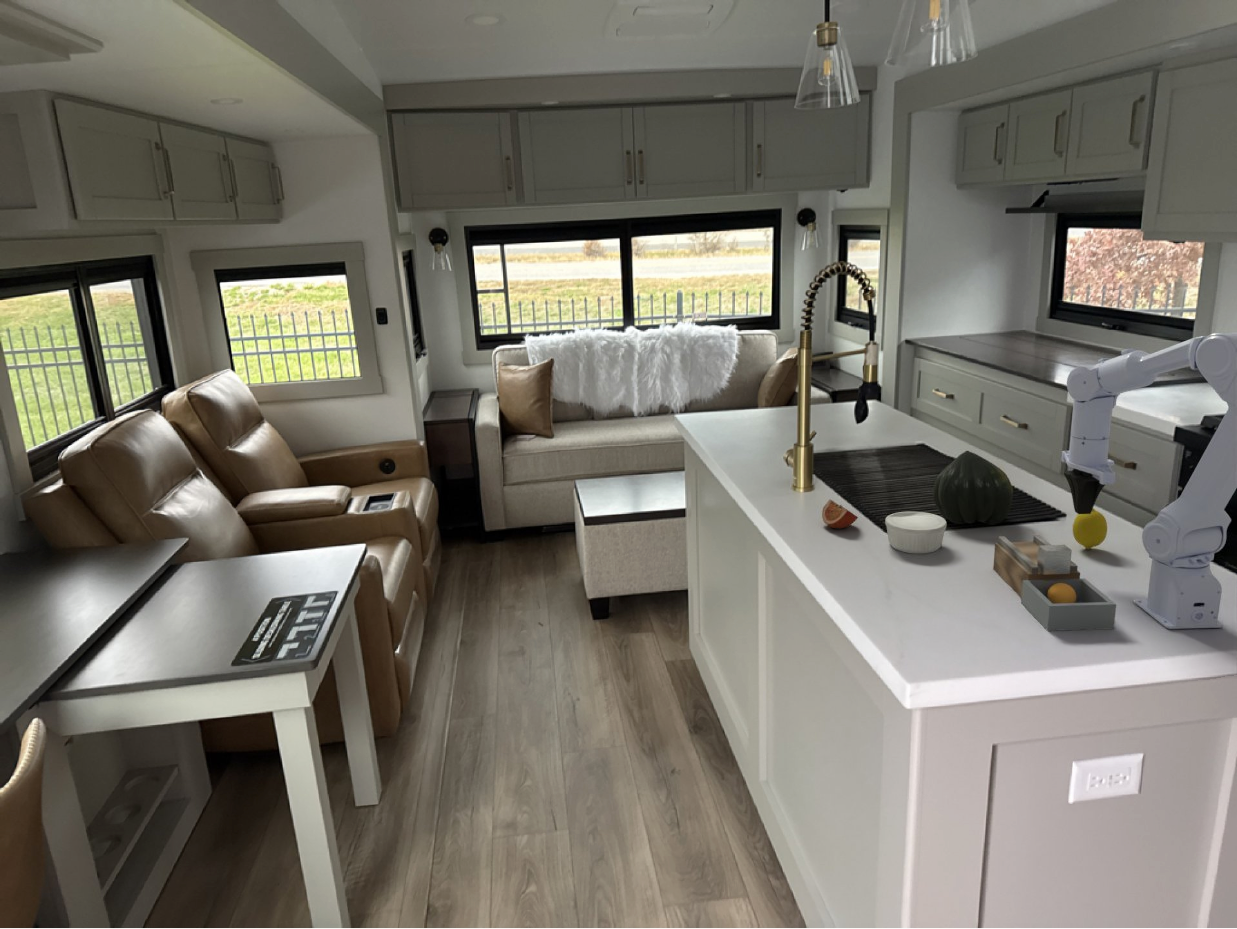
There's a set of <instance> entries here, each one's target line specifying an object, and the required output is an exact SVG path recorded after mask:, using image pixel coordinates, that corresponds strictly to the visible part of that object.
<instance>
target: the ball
mask: <svg viewBox="0 0 1237 929" xmlns="http://www.w3.org/2000/svg"><path fill="white" fill-rule="evenodd" d="M1047 597H1048V600H1049V601H1050V602H1051V603H1052V604H1059V603H1075V601H1076V593H1075V591H1074V589H1073V588H1072V587H1071V586H1069V585H1067V584H1064V583H1057V584H1054V585H1052V586H1051V587H1050V588H1049V590H1048V593H1047Z"/></svg>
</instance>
